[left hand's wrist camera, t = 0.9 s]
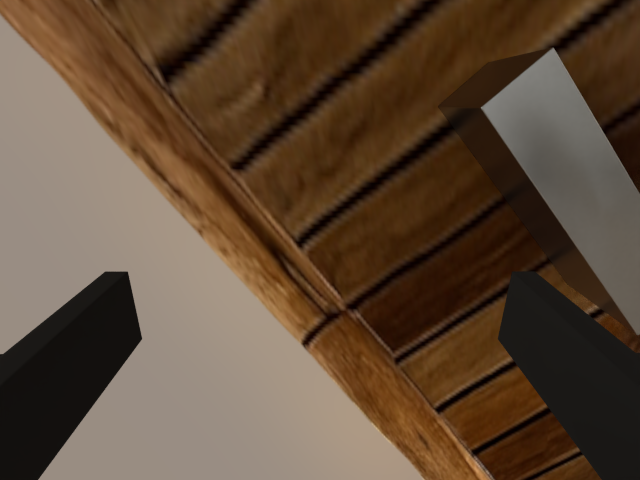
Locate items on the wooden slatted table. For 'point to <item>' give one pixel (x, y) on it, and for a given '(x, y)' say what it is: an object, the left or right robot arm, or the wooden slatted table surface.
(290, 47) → the wooden slatted table surface
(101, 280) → the left robot arm
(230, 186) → the wooden slatted table surface
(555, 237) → the bar
